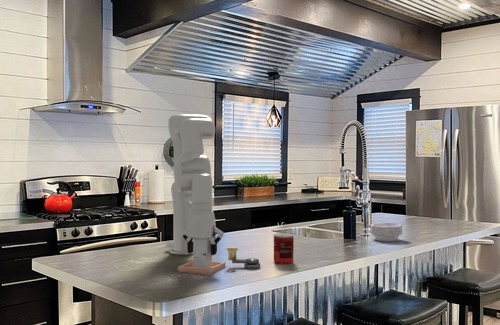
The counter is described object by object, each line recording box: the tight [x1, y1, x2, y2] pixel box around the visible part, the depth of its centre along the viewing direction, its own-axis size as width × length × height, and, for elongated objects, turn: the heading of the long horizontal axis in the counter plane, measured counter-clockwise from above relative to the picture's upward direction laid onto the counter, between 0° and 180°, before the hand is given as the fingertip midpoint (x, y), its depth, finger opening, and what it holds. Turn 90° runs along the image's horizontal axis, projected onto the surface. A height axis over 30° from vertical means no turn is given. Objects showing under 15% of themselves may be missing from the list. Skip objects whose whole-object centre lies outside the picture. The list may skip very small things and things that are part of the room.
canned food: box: [273, 232, 295, 265], centre depth 199 cm, size 8×8×11 cm
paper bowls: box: [370, 222, 403, 242], centre depth 253 cm, size 15×15×8 cm
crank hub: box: [243, 262, 261, 270], centre depth 190 cm, size 6×6×1 cm
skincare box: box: [192, 238, 213, 269], centre depth 187 cm, size 6×4×12 cm
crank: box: [226, 246, 260, 264], centre depth 191 cm, size 12×5×6 cm, turn 87°
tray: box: [177, 260, 226, 275], centre depth 187 cm, size 13×13×2 cm
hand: (202, 253), depth 187 cm, fingers open, 9 cm apart
